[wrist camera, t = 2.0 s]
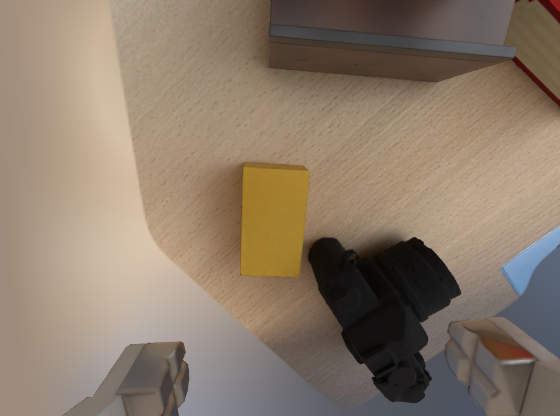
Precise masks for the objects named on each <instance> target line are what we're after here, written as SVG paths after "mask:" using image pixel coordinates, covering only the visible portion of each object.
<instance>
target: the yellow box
mask: <svg viewBox="0 0 560 416" xmlns="http://www.w3.org/2000/svg"><path fill="white" fill-rule="evenodd" d="M309 174H310V171H309V170H308V169H307V168H305V167H304V166H301V165H284V164H268V163H251V162H247V163H246V164H245V165H244V167H243V188H242V225H241V262H240V275H245V276H275V277H300V269H301V258H302V248H303V237H304V227H305V216H306V206H307V195H308V185H309Z"/></svg>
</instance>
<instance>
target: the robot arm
mask: <svg viewBox="0 0 560 416" xmlns="http://www.w3.org/2000/svg"><path fill="white" fill-rule="evenodd" d="M447 333H448V334H449V335H450V337H451V339H450V340H449V341H448V342H447V343H446V344H445V357H446V361H447V364H448V366H449V368H450V370H451V372H452V373H453V374H454V376H455V377H456V378H457V380H459V381H461V382H462V383H464V384H465V385H467V386H468V393H469V395H470V396H471V398H472V399H473V400H474V401H475V403H476V404H477V405H478V407H479V408H480V409H481V410H482V412H483V413H484V414H485V416H560V359H558V358H557V357H556V356H555V355H553V354H552V353H551V352H549V351H548V350H547V349H545V348H544V347H543V346H542V345H540V344H539V343H538V342H536V341H535V340H534V339H532V338H531V337H530V336H528V335H527V334H526V333H524V332H523V331H522V330H520V329H519V328H518V327H517V326H515V325H514V324H513V323H511V322H510V321H509V320H507V319H505V318H502V317H494V318H484V319H475V320H463V321H451V323H450V324H449V325H448V331H447ZM184 355H185V347H184V343H183V342H160V343H147V344H130V345H129V346H127V347H126V348H125V349H124V351H123V352H122V354H121V356H120V357H119V359H118V360H117V361H116V363H115V364H114V366H113V367H112V369H111V370H110V372H109V373H108V375H107V376H106V378H105V379H104V381H103V382H102V384H101V385H100V387H99V388H98V390H97V391H96V393H95V394H94V396H93V397H87V398H85V399H84V400H83V401H81V402H80V403H79V404H77V405H76V406H74V407H73V408H72V409H70V410H69V411H68V412H66V413H65V414H64V415H63V416H179V414H178V408H179V407H180V406H181V404H183V402H184V401H185V397H186V394H187V391H188V383H189V368H188V364H187V363H186V362H185V361H184V360H183V358H184Z"/></svg>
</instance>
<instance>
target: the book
mask: <svg viewBox="0 0 560 416" xmlns="http://www.w3.org/2000/svg"><path fill="white" fill-rule="evenodd" d="M503 46H512V47H517V49H516V52H515V56H514V58H513V59H512V60H513V61H514V62H515V63H516V64H517V65H518V66H519V67H520V68H521V69H522V70H523V71H524V72H525V73H527V74H528V75H529V76H530V77H531V78H532V79H533V80H534V81H535V82H536V83H537V84H538V85H539V86H540V87H541V88H542V89H543V90H544V91H545V92H546V93H547V94H548V95H549V96H550V97H551V98H552V99H553V100H554V101H555V102H556V103H557V104H558V105H559V106H560V0H515V3H514V7H513V11H512V14H511V18H510V22H509V26H508V30H507V34H506V38H505V41H504V45H503Z"/></svg>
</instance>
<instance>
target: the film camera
mask: <svg viewBox="0 0 560 416" xmlns="http://www.w3.org/2000/svg"><path fill="white" fill-rule="evenodd" d="M354 253H355V254H356V252H355V251H354V250H353V249H351V250H347V251H345V250H344V248H343V246H342V245H341V244H340V242H339V241H338V240H337V239H335V238H322V239H320V240H319V241H317V242H316V243H314V244H313V245H312V247H311V249H310V251H309V254H308V260H309V262H310V264H311V266H312V269H313V272H314V275H315V278H316V281H317V284H318V289H319V291H320V293H321V295H322V297H323V298H324V300H325V301H326V303H327V305H328V306H329V308H330V309H331V310H332V312H333V314H334V315H335V317H336V318H337V320H338V322H339V323H340V325H341V326H342V328H343V331H342V333H341V334H342V337H343V340H344V342H345V344H346V347H347V348H348V350H349V351H350V352H351V354H352V355H353V356H354V358H355V359H356V361H357V362H358V363H359V364H363V363H364V364H366V366H367V367H368V368H369V370H370V371H371V372H372V373H373V375H374V376H375V377H372V380H373V383H374V384H375V386H376V387H377V388H378V389H379V390H380V391H381V392H382V393H383V395H384V396H385V397H386V398H388V399H389V400H390V401H392V402H396V401H400V402H410V403H417V402H419V401H421V400H422V399H423V398H424V397H425V394H424V391H425V390H426V388H427V387H428V386H429V382H430V381H431V379H432V378H431V377H430V375H429V373H428V372H427V371H426V370H425V362H424V359H423V357H422V355H421V354H420V353H419V351H420V350H421V349H422V348H423V347H425V346H426V345H427V342H428V336H427V334H426V332H425V331H424V329H423V327H422V326H421V324H420V323H419V322H424V321H425V320H427V319H428V316H430V315H432V314H434V313H436V312H438V311H440V310H442V309H443V308H445V307H447V306H449V304H450V302H451V299H453V298H455V297H457V296H459V295H461V291H460V288H459V286H458V284H457V282H456V280H455V278H454V277H453V275H452V274H451V272H450V271H449V270H448V268H447V266H446V265H445V264H444V262H443V261H442V260H441V259H440V258H439V257H438V255H437V254H436V253H435V252H434V251H433V250H432V249H430V248H428V247H426V246H425V245H424V242H423V241H421V240H420V239H417V238H416V237H413V238H411V239H410V240H408V241H406V242H404V241H401V242H399V243H397V244H395V245H394V246H392V247H391V248H389V249H388V250H386V251H384V252H383V253H381V252H380V253H378V254H376V255H375V256H374V257H373V259H367V258H366V259H363V260H362V261H361V262H359V263H357V261H358V260H359V256H358V255H357V254H356V255H357V257H356V259H354V260H351V259H350V256H351V255H352V254H354Z"/></svg>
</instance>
